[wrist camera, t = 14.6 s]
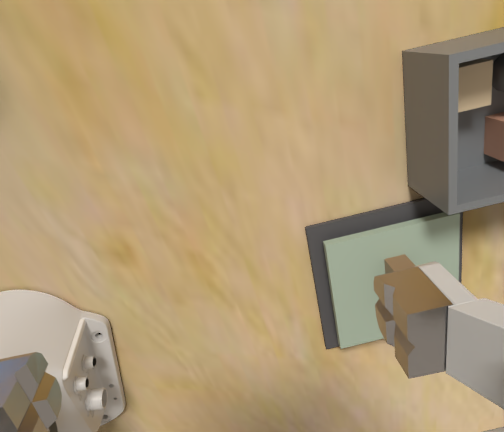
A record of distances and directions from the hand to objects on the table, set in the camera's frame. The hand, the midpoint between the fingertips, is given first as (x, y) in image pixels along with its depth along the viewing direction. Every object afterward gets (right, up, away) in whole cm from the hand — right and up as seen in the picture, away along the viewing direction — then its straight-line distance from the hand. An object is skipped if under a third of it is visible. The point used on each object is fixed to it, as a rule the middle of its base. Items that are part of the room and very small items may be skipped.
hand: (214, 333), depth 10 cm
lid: (+17, -4, +38) cm, 43 cm away
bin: (+23, +14, +31) cm, 42 cm away
